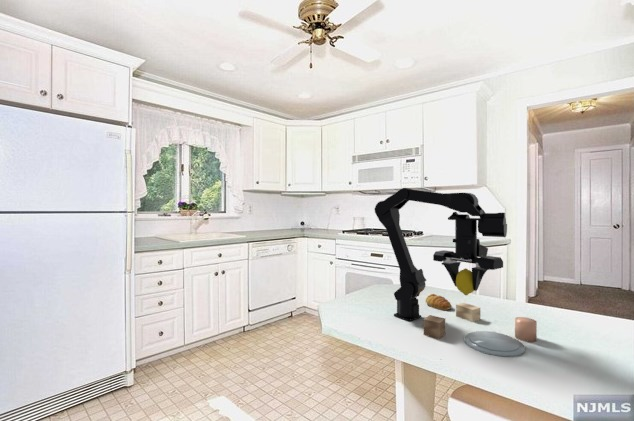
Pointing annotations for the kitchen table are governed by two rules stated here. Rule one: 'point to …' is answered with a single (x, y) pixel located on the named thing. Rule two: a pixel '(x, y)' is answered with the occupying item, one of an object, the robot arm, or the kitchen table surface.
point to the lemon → (464, 281)
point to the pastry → (438, 302)
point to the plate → (494, 343)
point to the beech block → (468, 312)
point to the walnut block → (434, 326)
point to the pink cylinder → (526, 329)
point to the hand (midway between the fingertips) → (466, 288)
